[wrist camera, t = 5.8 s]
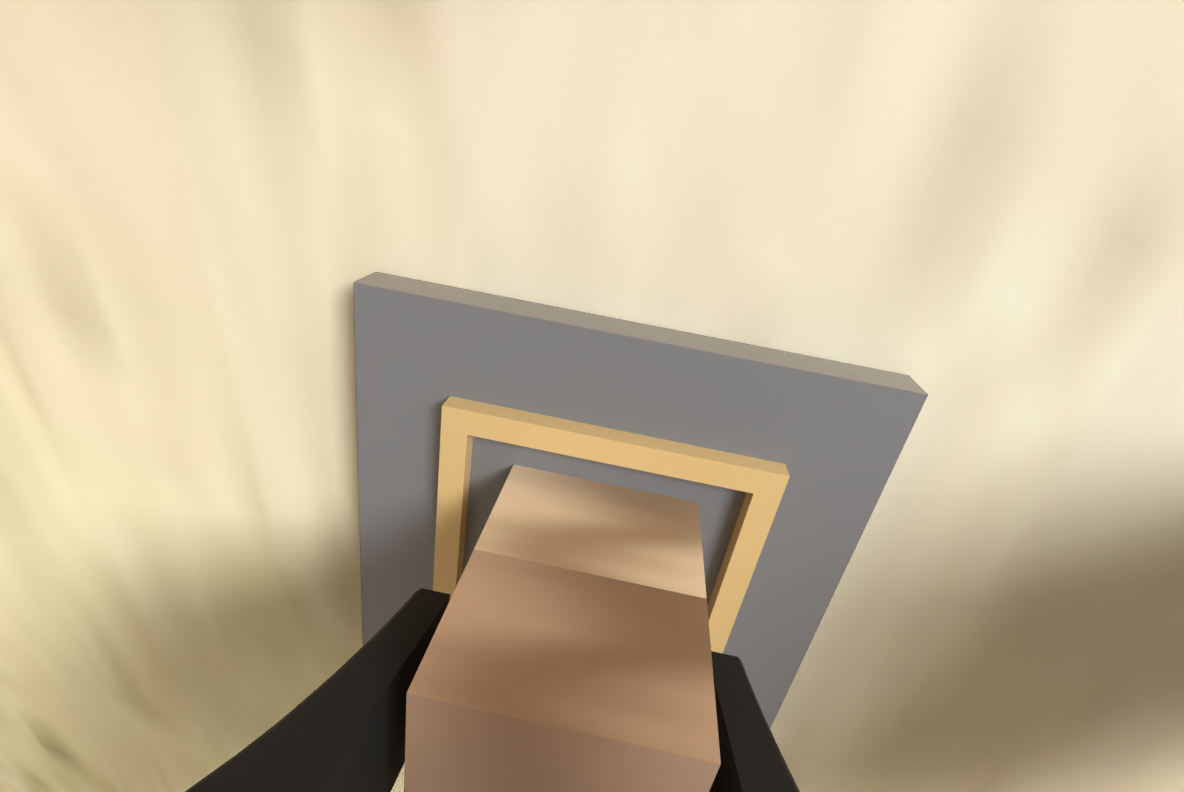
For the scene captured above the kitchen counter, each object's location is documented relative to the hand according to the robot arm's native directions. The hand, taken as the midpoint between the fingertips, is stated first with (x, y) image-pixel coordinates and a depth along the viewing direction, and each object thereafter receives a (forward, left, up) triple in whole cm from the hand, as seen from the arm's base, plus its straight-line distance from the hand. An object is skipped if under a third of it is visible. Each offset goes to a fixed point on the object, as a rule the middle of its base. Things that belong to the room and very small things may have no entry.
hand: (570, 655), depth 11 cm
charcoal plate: (0, 0, -4) cm, 4 cm away
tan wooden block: (0, 0, -3) cm, 3 cm away
